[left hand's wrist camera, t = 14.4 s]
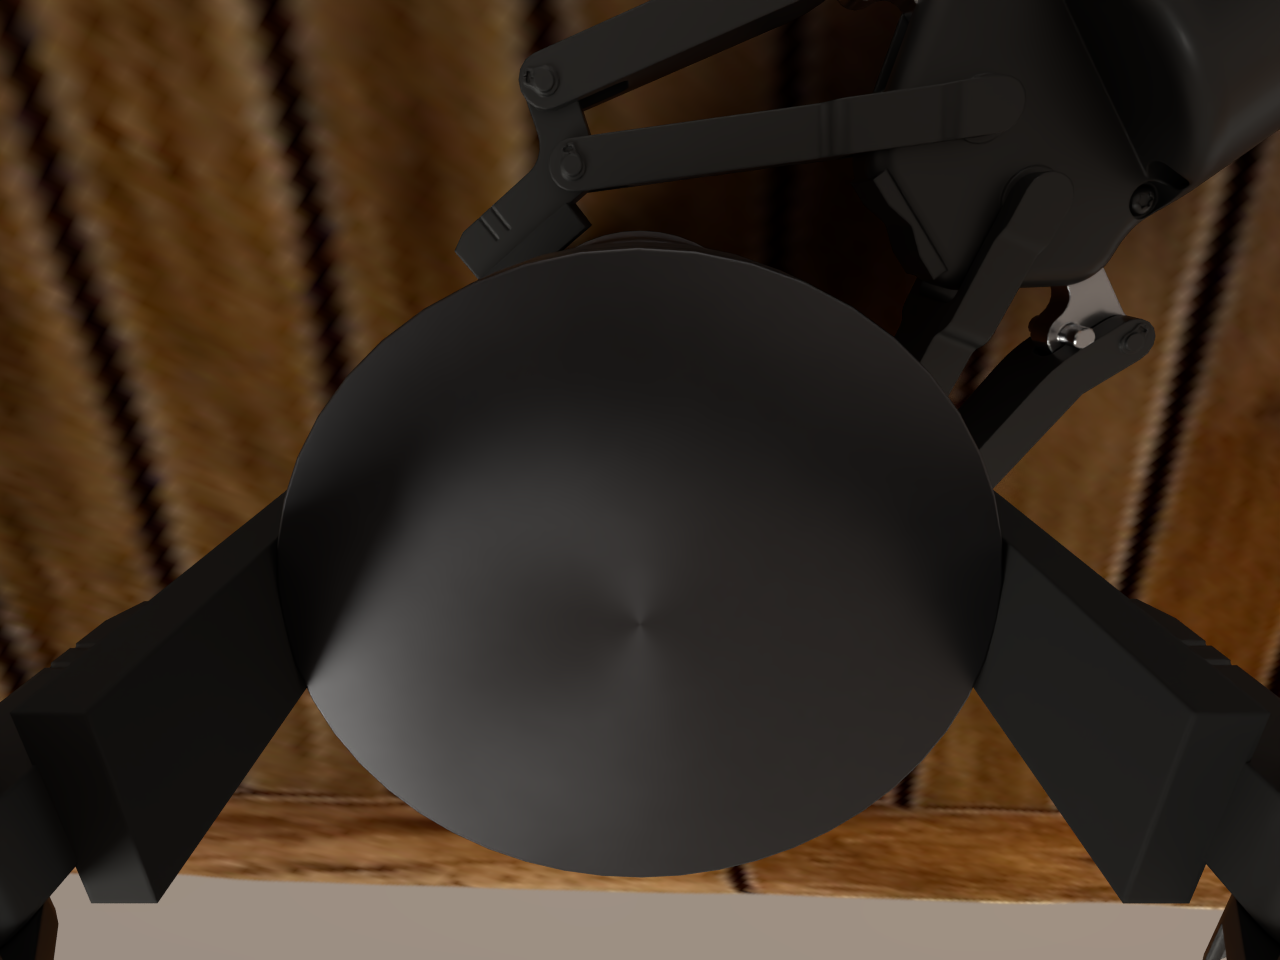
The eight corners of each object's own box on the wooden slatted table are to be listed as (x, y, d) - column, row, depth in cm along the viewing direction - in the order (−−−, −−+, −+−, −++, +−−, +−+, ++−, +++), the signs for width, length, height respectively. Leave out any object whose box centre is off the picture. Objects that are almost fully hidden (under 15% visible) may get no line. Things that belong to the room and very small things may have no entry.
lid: (733, 872, 15) (745, 951, 13) (241, 666, 13) (184, 730, 11) (1092, 460, 11) (1165, 501, 10) (488, 85, 9) (458, 60, 8)
